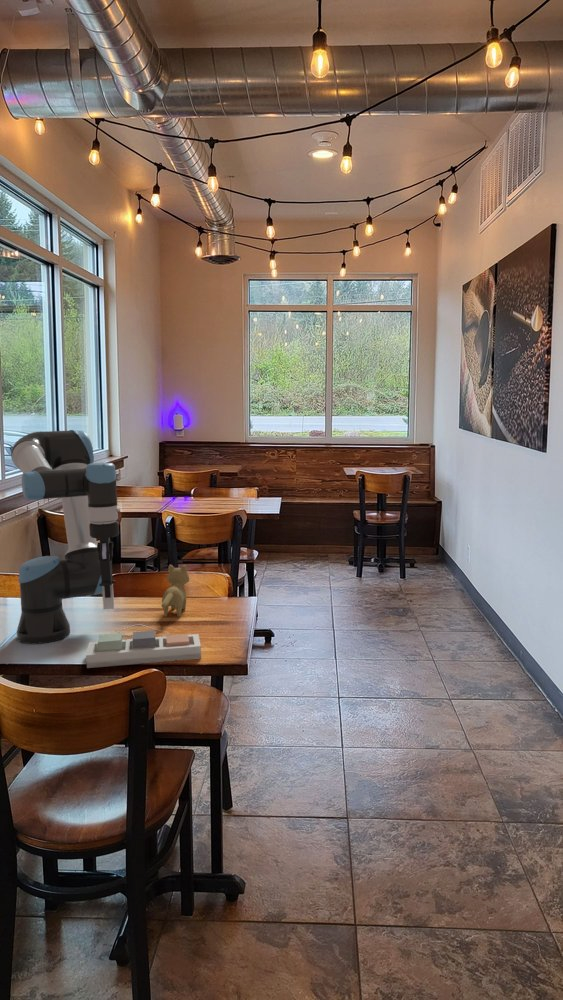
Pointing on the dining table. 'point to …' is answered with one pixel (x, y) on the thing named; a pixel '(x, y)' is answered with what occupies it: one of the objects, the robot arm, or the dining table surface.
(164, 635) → the flat thin panel
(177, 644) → the key terracotta
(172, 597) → the toy
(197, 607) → the dining table surface
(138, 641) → the key charcoal
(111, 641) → the key sage
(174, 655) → the keypad
